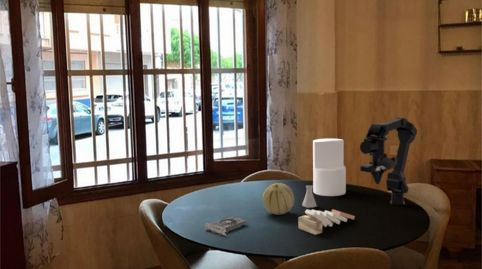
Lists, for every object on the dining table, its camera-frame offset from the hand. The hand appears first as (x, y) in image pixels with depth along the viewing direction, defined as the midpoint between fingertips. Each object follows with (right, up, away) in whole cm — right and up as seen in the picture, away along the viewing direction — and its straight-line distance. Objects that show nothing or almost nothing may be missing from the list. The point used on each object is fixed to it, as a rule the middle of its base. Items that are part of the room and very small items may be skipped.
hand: (377, 184), depth 223 cm
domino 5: (-15, -14, -7) cm, 21 cm away
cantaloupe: (-46, -14, +2) cm, 48 cm away
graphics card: (-69, -18, -16) cm, 73 cm away
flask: (-30, -12, +13) cm, 35 cm away
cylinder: (-15, -8, +38) cm, 42 cm away
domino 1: (-29, -15, -18) cm, 37 cm away
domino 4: (-18, -14, -10) cm, 26 cm away
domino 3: (-22, -15, -13) cm, 30 cm away
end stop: (-35, -17, -22) cm, 44 cm away
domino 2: (-26, -16, -16) cm, 34 cm away
